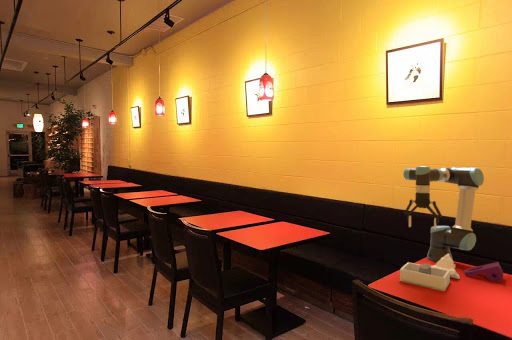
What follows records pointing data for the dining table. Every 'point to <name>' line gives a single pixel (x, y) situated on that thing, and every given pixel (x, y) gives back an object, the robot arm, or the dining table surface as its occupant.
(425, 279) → the cream rectangular tray
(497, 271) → the mounting bracket
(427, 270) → the brushed metal block
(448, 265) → the cream faceted chunk
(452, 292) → the dining table surface
